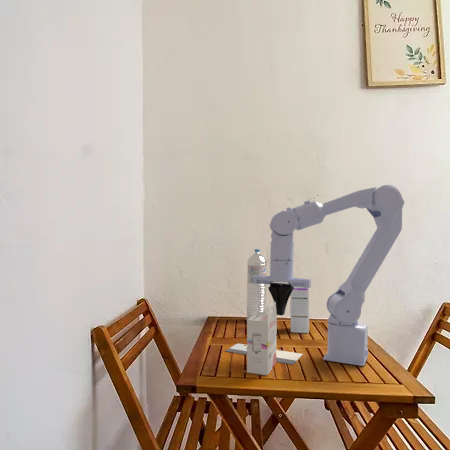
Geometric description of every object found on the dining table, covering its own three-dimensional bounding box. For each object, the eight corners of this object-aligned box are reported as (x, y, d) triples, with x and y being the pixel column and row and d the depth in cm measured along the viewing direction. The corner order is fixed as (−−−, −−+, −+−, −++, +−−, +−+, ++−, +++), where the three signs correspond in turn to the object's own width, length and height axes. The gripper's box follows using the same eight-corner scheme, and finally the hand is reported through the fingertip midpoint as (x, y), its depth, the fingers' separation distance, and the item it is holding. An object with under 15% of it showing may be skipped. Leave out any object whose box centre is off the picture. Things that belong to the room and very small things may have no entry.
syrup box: (309, 333, 122) (309, 286, 122) (289, 332, 122) (290, 285, 123) (308, 329, 127) (308, 284, 127) (289, 328, 128) (290, 283, 128)
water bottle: (256, 317, 142) (257, 248, 143) (270, 321, 137) (271, 249, 138) (242, 320, 138) (243, 248, 139) (256, 324, 133) (257, 249, 133)
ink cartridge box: (256, 361, 94) (257, 299, 95) (276, 364, 93) (277, 301, 93) (245, 373, 86) (246, 305, 87) (267, 376, 85) (268, 307, 85)
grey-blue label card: (264, 347, 105) (264, 347, 105) (253, 356, 98) (253, 355, 98) (237, 343, 109) (237, 343, 109) (224, 351, 102) (224, 350, 102)
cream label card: (303, 354, 100) (303, 353, 100) (292, 364, 92) (292, 364, 92) (269, 349, 104) (269, 348, 104) (257, 358, 96) (257, 358, 96)
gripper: (314, 260, 99) (313, 314, 99) (260, 257, 106) (259, 308, 105) (307, 262, 93) (306, 320, 93) (250, 259, 99) (249, 313, 99)
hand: (280, 314), depth 99 cm, fingers closed
